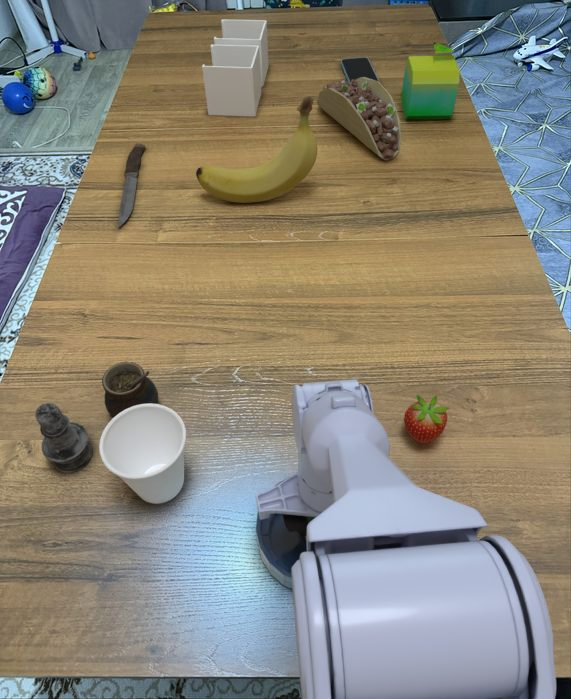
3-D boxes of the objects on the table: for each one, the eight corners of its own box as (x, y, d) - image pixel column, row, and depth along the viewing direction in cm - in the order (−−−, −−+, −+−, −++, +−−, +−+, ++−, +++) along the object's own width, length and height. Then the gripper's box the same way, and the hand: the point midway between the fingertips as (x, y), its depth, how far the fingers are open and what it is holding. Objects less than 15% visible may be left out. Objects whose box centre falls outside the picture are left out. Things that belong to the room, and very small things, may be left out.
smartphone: (352, 88, 138) (339, 59, 147) (351, 93, 139) (339, 63, 148) (381, 86, 138) (367, 56, 147) (381, 90, 139) (367, 61, 148)
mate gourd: (116, 389, 84) (98, 345, 76) (168, 390, 84) (154, 346, 76) (105, 432, 79) (84, 390, 72) (159, 433, 79) (144, 391, 71)
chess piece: (75, 428, 80) (45, 377, 71) (104, 450, 78) (78, 399, 68) (41, 459, 77) (5, 409, 68) (70, 483, 75) (38, 435, 65)
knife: (133, 229, 107) (131, 223, 106) (114, 230, 107) (112, 224, 106) (146, 147, 125) (145, 141, 124) (130, 147, 125) (129, 142, 124)
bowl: (382, 579, 66) (386, 565, 63) (272, 608, 64) (270, 596, 61) (347, 478, 74) (349, 462, 71) (248, 502, 72) (246, 486, 69)
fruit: (413, 459, 76) (423, 427, 70) (393, 428, 79) (401, 395, 73) (448, 444, 77) (461, 411, 71) (427, 415, 80) (437, 380, 74)
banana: (199, 209, 111) (183, 110, 95) (200, 191, 114) (185, 93, 99) (317, 204, 111) (320, 104, 95) (314, 186, 115) (317, 87, 99)
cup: (194, 519, 71) (180, 478, 63) (114, 519, 71) (89, 478, 63) (202, 448, 77) (190, 402, 69) (129, 448, 78) (108, 402, 69)
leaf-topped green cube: (450, 123, 129) (465, 54, 117) (406, 123, 129) (417, 54, 117) (442, 99, 136) (456, 31, 124) (400, 99, 136) (410, 32, 124)
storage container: (255, 116, 132) (252, 68, 124) (208, 114, 133) (202, 66, 125) (268, 66, 148) (266, 20, 139) (226, 65, 149) (221, 19, 140)
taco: (372, 168, 118) (377, 121, 110) (305, 110, 133) (306, 66, 126) (410, 154, 121) (418, 108, 113) (341, 99, 136) (343, 55, 128)
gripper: (384, 416, 59) (371, 477, 70) (246, 447, 57) (254, 505, 68) (409, 476, 55) (392, 532, 65) (261, 513, 53) (267, 564, 63)
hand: (323, 522), depth 66 cm, fingers closed on sponge, 4 cm apart
